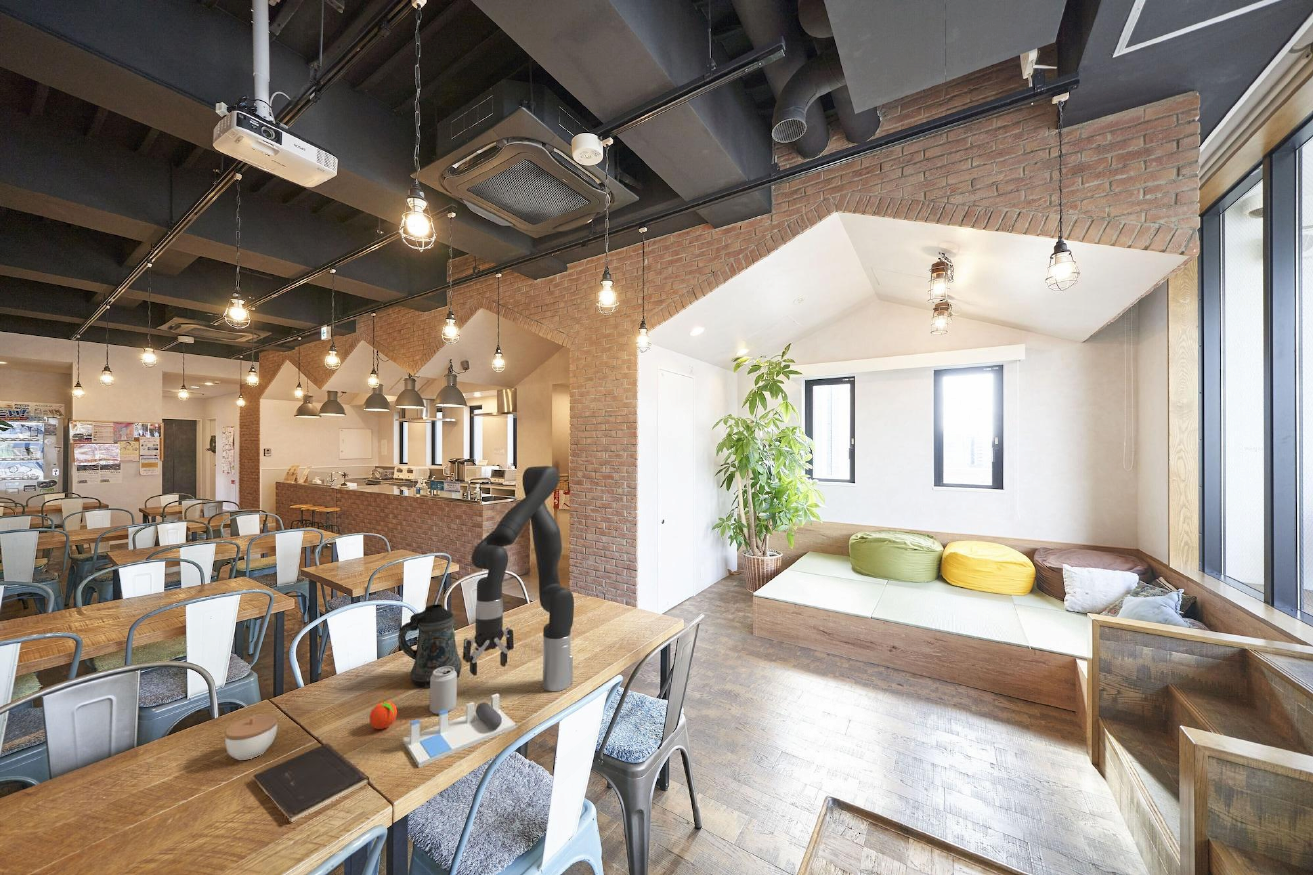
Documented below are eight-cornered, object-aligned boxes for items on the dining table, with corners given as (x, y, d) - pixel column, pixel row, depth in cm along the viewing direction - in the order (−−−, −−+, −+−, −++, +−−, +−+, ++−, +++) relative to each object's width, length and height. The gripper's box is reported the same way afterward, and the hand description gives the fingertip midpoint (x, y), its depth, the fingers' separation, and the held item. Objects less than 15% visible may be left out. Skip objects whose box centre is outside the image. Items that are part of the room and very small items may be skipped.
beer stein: (471, 674, 172) (472, 603, 173) (419, 697, 156) (421, 619, 156) (443, 663, 181) (444, 596, 182) (391, 684, 164) (393, 610, 165)
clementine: (404, 724, 140) (405, 700, 140) (382, 737, 134) (382, 711, 134) (386, 718, 143) (386, 694, 144) (363, 730, 137) (364, 705, 137)
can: (446, 717, 144) (447, 676, 144) (424, 714, 146) (425, 674, 146) (461, 704, 151) (461, 665, 152) (440, 701, 153) (440, 663, 153)
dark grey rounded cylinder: (473, 716, 142) (473, 702, 142) (486, 711, 145) (486, 698, 145) (490, 733, 133) (490, 719, 134) (504, 728, 136) (504, 714, 136)
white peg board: (495, 708, 149) (495, 686, 149) (515, 727, 138) (515, 704, 139) (403, 742, 131) (403, 717, 132) (418, 767, 121) (419, 740, 121)
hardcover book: (289, 827, 102) (290, 816, 102) (253, 784, 116) (253, 774, 116) (369, 785, 116) (369, 775, 116) (328, 750, 129) (328, 742, 129)
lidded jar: (286, 746, 130) (287, 710, 130) (241, 771, 120) (242, 732, 120) (260, 738, 133) (261, 704, 134) (213, 761, 123) (215, 724, 123)
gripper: (506, 605, 148) (506, 658, 147) (459, 616, 138) (459, 673, 138) (517, 611, 142) (517, 667, 142) (469, 623, 133) (469, 682, 132)
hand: (488, 670), depth 140 cm, fingers open, 8 cm apart
